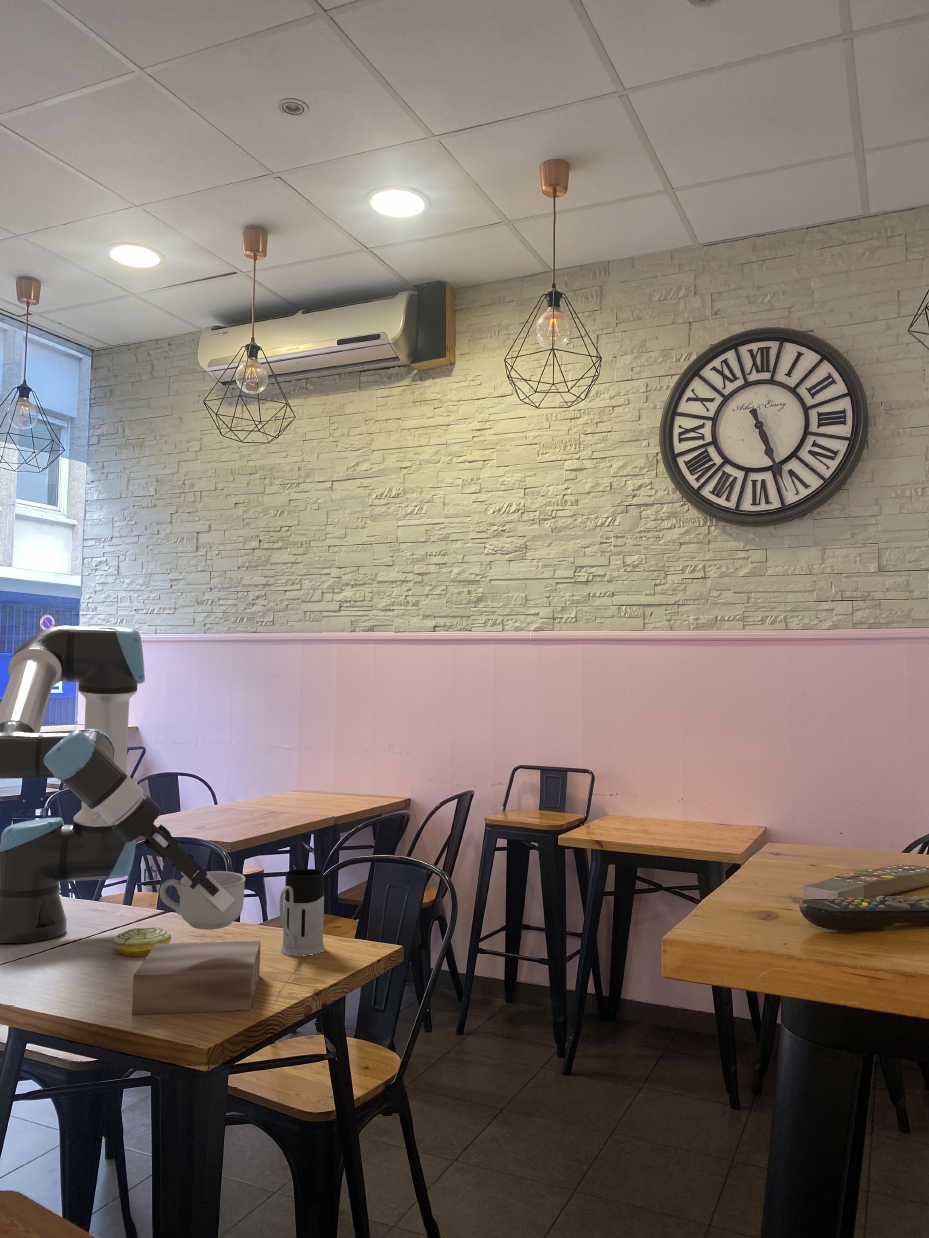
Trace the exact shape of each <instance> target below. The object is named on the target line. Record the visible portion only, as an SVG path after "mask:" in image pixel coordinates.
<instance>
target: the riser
mask: <svg viewBox="0 0 929 1238" xmlns="http://www.w3.org/2000/svg"><path fill="white" fill-rule="evenodd" d="M260 965H261V940H244V941H241V940H240V941H239V940H238V941H237V940H236V941H205V942H201V941H200V942H173V943H172V942H170V943H163V944H156V945H155V946H154V948H153V949H152V950H151V952H150V953H149V954H148V956H145V958H144V960H143V962H141V964H140V965H139V967H138V968H137V970H135V972H134V973H133V981H132V982H133V983H132V1001H131V1002H132V1003H131V1015H132V1016H133V1015H135V1016H136V1015H138V1016H139V1015H158V1014H159V1015H160V1014H161V1015H162V1014H163V1015H164V1014H184V1013H186V1014H187V1013H189V1014H190V1013H208V1012H211V1013H212V1012H213V1013H214V1012H236V1010H241V1011H251V1009H252V1005H253V1000H254V997H255V993H256V990H257V986H258V982H259V978H260V972H261V968H260ZM233 1010H234V1011H233Z"/></svg>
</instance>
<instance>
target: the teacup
mask: <svg viewBox="0 0 929 1238" xmlns="http://www.w3.org/2000/svg"><path fill="white" fill-rule="evenodd" d="M206 872H207V873H208V874H209V875H210V876H211V877H212V878H213V879H214V880H215V881H217V882H218V883H219V884H220V885H221V886H222V887H223V888H224V889H225V890H226V891H227V892H228V893H229V894H230V895H231V896H232V897H233V898H234V899H235V900H234V901H233V902H232V903H231V904H230V905H229V907H228V908H227V909H226V910H225V911H224V912H222V911H221V910H220V909H219V908H218V907H217V906H216V905H215V904H213V903H212V902H211V901H210V900H209V899H208V898H207V897H206V896H205V895H204V894H203V893H202V892H201V891H200V890H199V889H198V888H197V887H195V888H194V889H192V888H191V887H190V885H191V884H192V881H191V880H190V879H189V878H188V877H187V876H185V877H184V876H183V877H181V878H180V880H177V879H175V878H170V879H167V880H166V881H164V882H163V883H162V885H161V886H160V889H159V897H160V899H161V901H162V902H163V903H164V904H165V905H167V906H168V907H169V908H171V909H173V910H174V911H175V912H176V914H177V915H180V916H181V918H182V919H183V920H184V921H185V922H186V923H187V924H188V925H189V926H191V927H192V928H194V929H195V930H196V929H197V930H204V931H205V930H206V931H207V930H208V931H210V930H211V931H212V930H217V929H224V928H226V927H228V926H230V925H232V923H233V922H234V921H236V920H237V919H238V918H239V917H240V915H241V914H242V911H243V908H244V901H245V900H244V899H245V883H246V877H245V875H243V874H241V873H238V872H232V871H222V870H216V871H215V870H213V871H206ZM196 874H197V873H195V874H194V876H195V875H196ZM194 876H193V877H194ZM170 886H171V887H172V886H173V887H175V889H176V890H177V894H178V895H179V903H177V902H175V901H174V900H172V899H171V898H170V897H169V896H168V895H167V891H166V890H167V888H168V887H170Z"/></svg>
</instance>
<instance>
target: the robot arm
mask: <svg viewBox="0 0 929 1238" xmlns="http://www.w3.org/2000/svg"><path fill="white" fill-rule="evenodd" d="M143 652H144V651H143V643H142V637H141V634H140V632H139V631H138V630H137V629H134V628H129V627H128V628H127V627H120V626H91V625H90V626H84V625H83V626H80V625H79V626H78V625H75V626H73V625H57V626H52V627H50V628H47V629H43V630H41V631H39V632H37V633H36V634H34V635H32V636H31V637H29V638H27V639H26V640H25V641H24V642H22V643H21V644H20V645H19V646H18V647H17V649H16V650H15V651H14V652H13V654H12V656H11V658H10V661H9V664H8V668H7V669H8V676H9V680H8V682H7V686H6V688H5V690H4V691H5V692H4V693H3V696H2V700H1V701H0V780H3V779H4V780H5V779H6V780H7V779H10V780H12V779H57V780H58V781H60V782H62V784H63V785H64V786H66V787H67V789H68V790H70V791H71V792H72V793H73V794H74V795H75V796H76V797H77V798H79V800H81V809H80V810H79V811H78V812H77V813H76V814H75V815H74V816H73V823H72V824H65V823H64V819H63V818H62V817H59V816H57V817H47V818H46V817H45V818H38V819H33V820H32V819H31V820H26V821H21V822H18V823H13V824H11V825H9V826H7V827H5V828H4V829H3V831H2V832H1V836H0V944H1V943H17V944H25V943H26V944H28V943H35V942H37V943H38V942H41V941H42V942H43V941H47V940H51V939H54V938H57V937H60V936H62V935H64V934H65V933H66V932H67V917H66V913H65V910H64V907H63V904H62V899H61V895H60V883H61V882H75V881H77V882H78V881H94V880H97V881H98V880H105V881H108V880H110V879H111V880H112V879H121V878H126V877H127V876H128V875H129V874H130V873H131V871H132V866H133V861H134V856H135V851H136V844H137V839H138V838H139V837H140V836H141V837H143V838H144V840H143V841H142V843H143V844H144V845H145V846H146V847H147V848H148V849H149V850H151V851H152V852H155V854H157V855H158V856H160V858H162V859H163V860H164V861H168V862H169V863H170V864H171V866H172V867H174V868H175V869H176V870H177V872H180V874H181V875H182V876H183V877H185V876H187V877H188V878H189V879H190V880H191V881H192V884H191V885H190V887H191V888H192V889H194V888H195V887H197V888H198V889H199V890H200V891H201V892H202V893H203V894H204V895H205V896H206V897H207V898H208V899H209V900H210V901H211V902H212V903H213V904H215V905H216V906H217V907H218V908H219V909H220V910H221V911H222V912H224V911H225V910H226V909H227V908H228V907H229V905H230V904H231V903H232V902H233V901H234V900H235V899H234V898H233V897H232V896H231V895H230V894H229V893H228V892H227V891H226V890H225V889H224V888H223V887H222V886H221V885H220V884H219V883H218V882H217V881H215V880H214V879H213V878H212V877H211V876H210V875H209V874H208V873H207V872H208V871H207V870H206V869H205V868H203V867H201V865H199V864H198V862H196V861H195V860H194V859H195V857H194V856H193V855H192V854H191V853H189V854H188V853H187V852H186V851H184V849H183V848H182V847H181V843H180V842H179V841H178V840H177V839H176V838H175V837H174V836H172V833H171V832H170V831H169V829H168V828H166V826H164V825H162V824H159V826H156V824H154V823H155V821H156V820H157V819H158V818H159V817H160V815H161V813H162V808H161V806H160V805H159V804H158V803H157V802H156V801H155V800H153V799H152V797H150V796H149V794H148V795H146V794H145V793H144V789H143V788H142V787H141V786H140V785H139V784H138V783H137V782H136V781H135V780H134V779H132V778H131V776H130V775H128V774H127V767H128V765H127V764H128V763H127V762H128V738H129V736H128V735H129V718H130V717H129V714H130V711H129V710H130V699H131V697H133V696H134V695H135V694H136V693H137V692H138V684H139V685H141V684H143V683H145V680H146V677H145V662H144V661H145V660H144V653H143ZM58 682H67V683H78V685H77V689H78V690H77V691H78V692H79V693H80V694H81V695H82V697H83V698H84V699H85V708H84V709H85V711H84V730H80V729H74V730H73V731H71V732H49V733H48V732H41V729H42V725H43V722H44V719H45V715H46V711H47V707H48V703H49V699H50V696H51V693H52V688H53V687H54V686H56V685H57V684H58ZM144 794H145V795H144ZM195 873H197V874H196V875H195V876H194V874H195ZM193 876H194V877H193Z"/></svg>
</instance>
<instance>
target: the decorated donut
mask: <svg viewBox="0 0 929 1238" xmlns="http://www.w3.org/2000/svg"><path fill="white" fill-rule="evenodd" d="M171 940H172V934H171V932H169V931H167V930H165V929H163V928H160V927H159V928H158V927H136V928H131V929H128V930H126V931H123V932H121V933H120V932H119V933H118V934H117V935H115V937H114V938H113V941H114V942H113V946H114V949H115V951H116V953H118V954H119V955H120V956H121V955H122V956H126V957H147V956H148V954H149V953H150V952H151V950H152V949H153V948H154V946H155V945H156V944H163V943H171Z"/></svg>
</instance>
